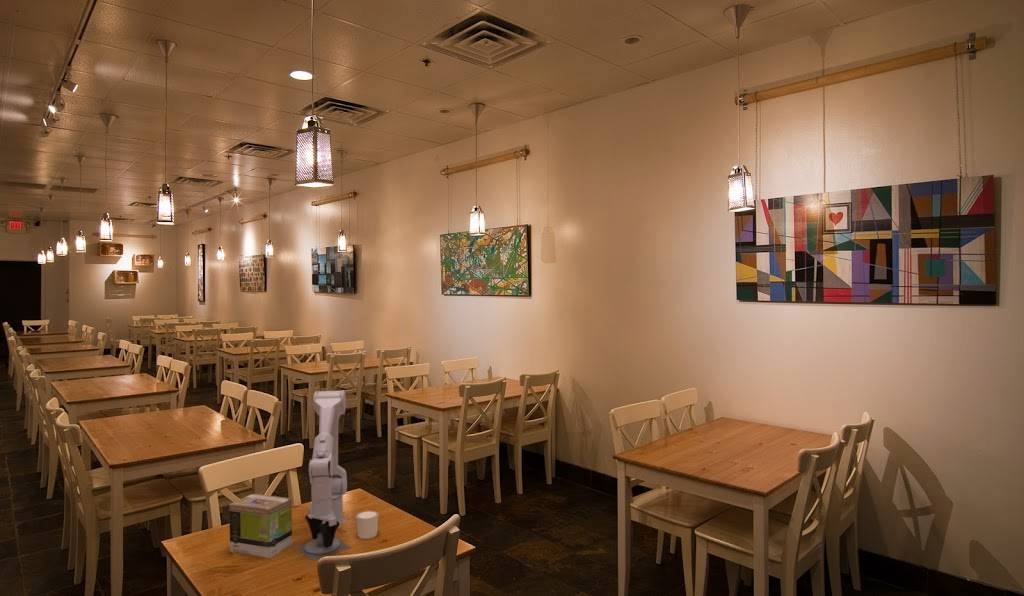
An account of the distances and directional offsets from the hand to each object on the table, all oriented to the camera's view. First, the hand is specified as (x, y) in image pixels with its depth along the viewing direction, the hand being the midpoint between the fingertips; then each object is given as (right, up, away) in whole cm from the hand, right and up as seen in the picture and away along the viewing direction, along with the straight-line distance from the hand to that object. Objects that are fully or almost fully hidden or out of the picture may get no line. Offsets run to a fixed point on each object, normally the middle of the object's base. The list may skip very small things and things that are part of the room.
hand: (322, 542), depth 172 cm
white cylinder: (+11, -2, +8) cm, 14 cm away
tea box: (-18, -2, 0) cm, 19 cm away
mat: (0, -2, 0) cm, 2 cm away
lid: (0, -1, 0) cm, 1 cm away
